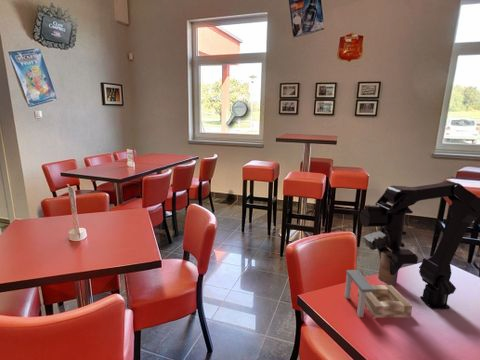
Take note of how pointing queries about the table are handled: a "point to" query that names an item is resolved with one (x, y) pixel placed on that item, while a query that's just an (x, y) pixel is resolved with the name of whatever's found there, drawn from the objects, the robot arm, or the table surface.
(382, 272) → the peg
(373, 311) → the socket block
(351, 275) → the grey arch frame
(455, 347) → the table surface
